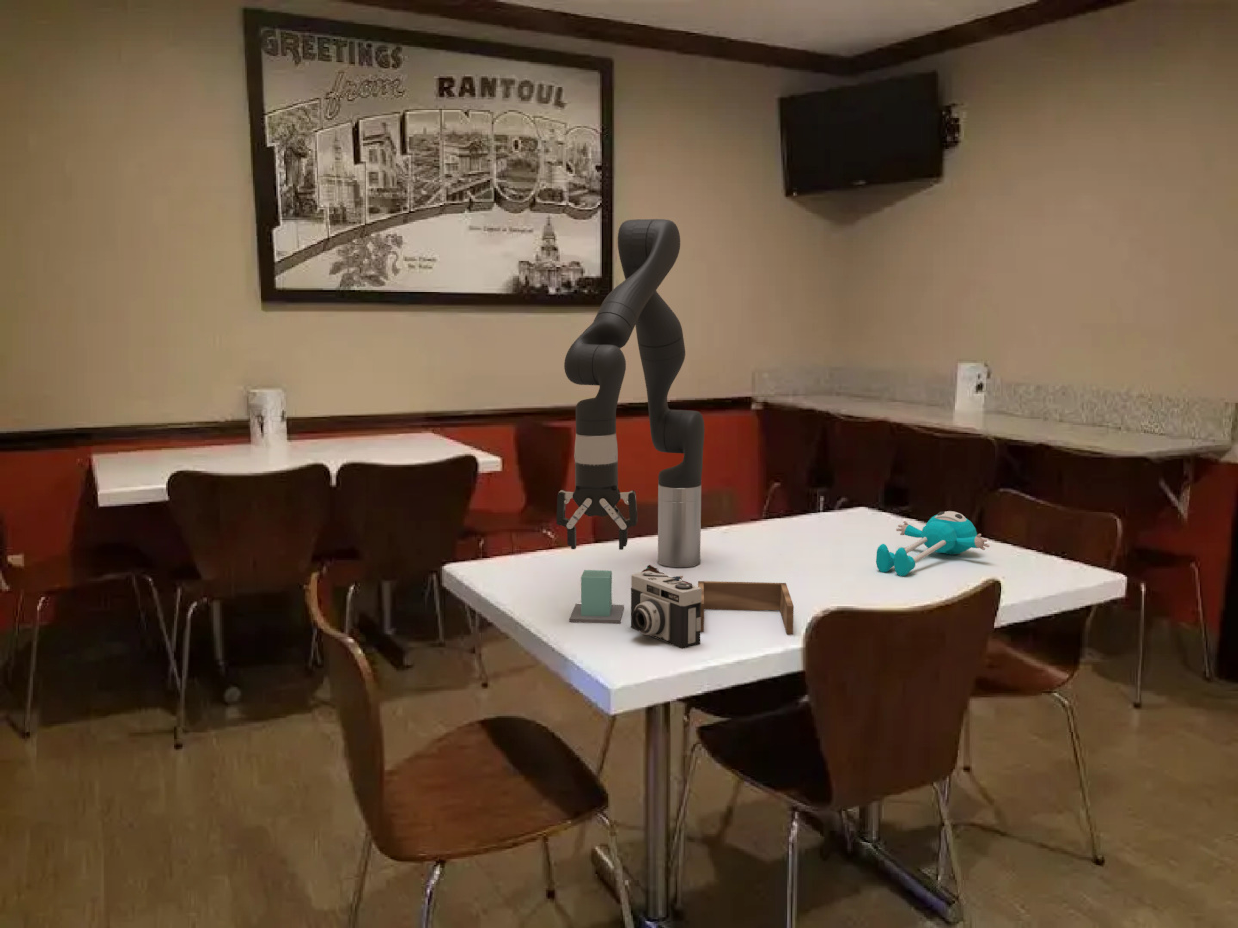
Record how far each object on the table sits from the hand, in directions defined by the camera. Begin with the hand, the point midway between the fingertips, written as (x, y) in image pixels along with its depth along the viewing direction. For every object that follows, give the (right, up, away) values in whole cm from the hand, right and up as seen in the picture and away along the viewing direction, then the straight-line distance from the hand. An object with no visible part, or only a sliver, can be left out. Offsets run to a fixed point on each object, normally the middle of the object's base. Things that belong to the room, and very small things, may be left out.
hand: (597, 548), depth 173 cm
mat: (0, -12, +2) cm, 12 cm away
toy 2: (+71, -7, +39) cm, 81 cm away
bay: (+26, -13, -1) cm, 29 cm away
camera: (+10, -14, -10) cm, 20 cm away
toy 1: (+14, -10, +16) cm, 24 cm away
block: (0, -12, +1) cm, 12 cm away
